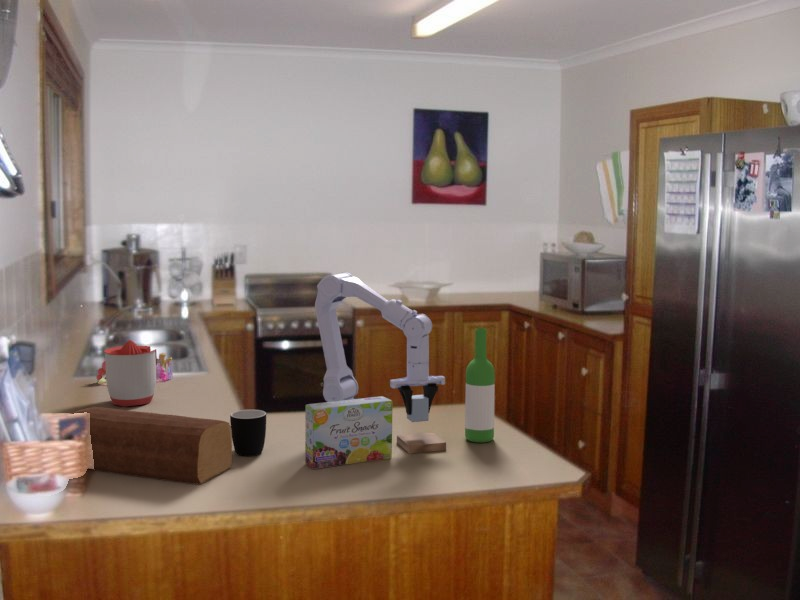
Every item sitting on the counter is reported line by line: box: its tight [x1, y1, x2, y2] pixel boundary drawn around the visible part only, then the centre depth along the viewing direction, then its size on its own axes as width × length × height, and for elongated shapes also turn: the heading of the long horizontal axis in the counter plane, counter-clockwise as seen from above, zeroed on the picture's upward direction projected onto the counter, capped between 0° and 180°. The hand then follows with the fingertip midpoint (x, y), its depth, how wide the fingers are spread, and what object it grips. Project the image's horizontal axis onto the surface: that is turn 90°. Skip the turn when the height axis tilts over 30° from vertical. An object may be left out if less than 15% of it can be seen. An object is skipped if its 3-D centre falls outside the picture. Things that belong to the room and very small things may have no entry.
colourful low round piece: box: [96, 352, 174, 387], centre depth 304 cm, size 25×24×9 cm
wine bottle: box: [464, 327, 496, 444], centre depth 229 cm, size 8×8×30 cm
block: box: [406, 394, 430, 423], centre depth 225 cm, size 4×4×6 cm
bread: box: [69, 406, 233, 485], centre depth 206 cm, size 16×39×13 cm, turn 69°
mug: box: [229, 409, 267, 457], centre depth 219 cm, size 12×9×10 cm
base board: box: [396, 431, 447, 455], centre depth 224 cm, size 10×10×2 cm
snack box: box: [304, 395, 394, 470], centre depth 211 cm, size 21×6×15 cm, turn 117°
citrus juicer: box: [103, 339, 162, 408], centre depth 270 cm, size 16×17×20 cm
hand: (417, 413), depth 225 cm, fingers closed on block, 4 cm apart
